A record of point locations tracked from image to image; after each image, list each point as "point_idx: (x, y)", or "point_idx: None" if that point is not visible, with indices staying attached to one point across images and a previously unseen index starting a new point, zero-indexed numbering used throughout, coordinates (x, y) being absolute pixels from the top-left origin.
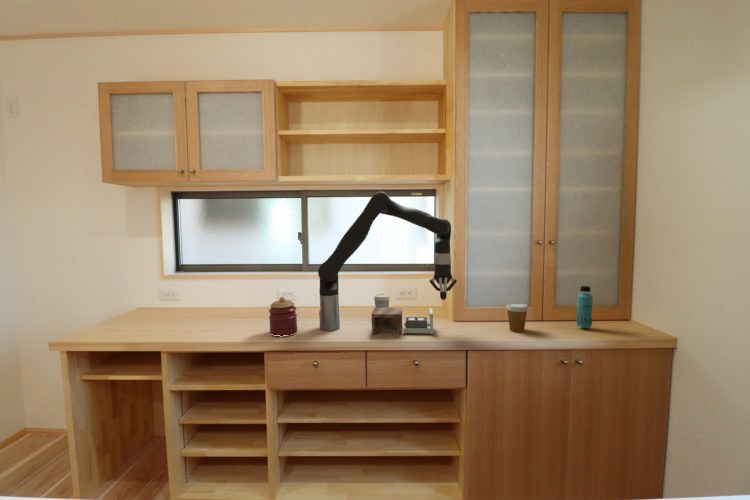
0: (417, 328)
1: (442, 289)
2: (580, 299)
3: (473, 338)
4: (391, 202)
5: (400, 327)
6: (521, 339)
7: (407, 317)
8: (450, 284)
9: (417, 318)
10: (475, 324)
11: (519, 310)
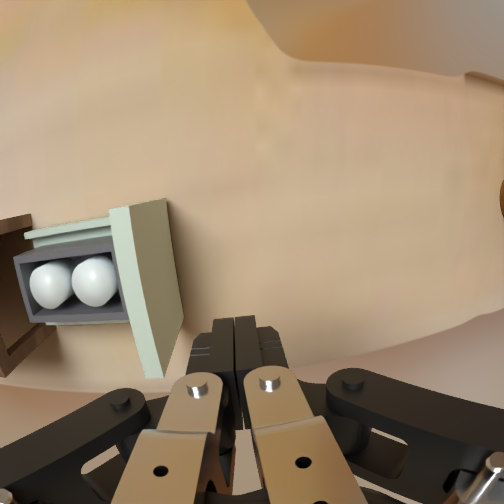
0: (100, 322)
1: (232, 465)
2: None
3: (369, 327)
4: None
5: (36, 344)
6: (499, 298)
7: (20, 262)
8: (412, 463)
9: (68, 255)
10: (398, 110)
11: None
